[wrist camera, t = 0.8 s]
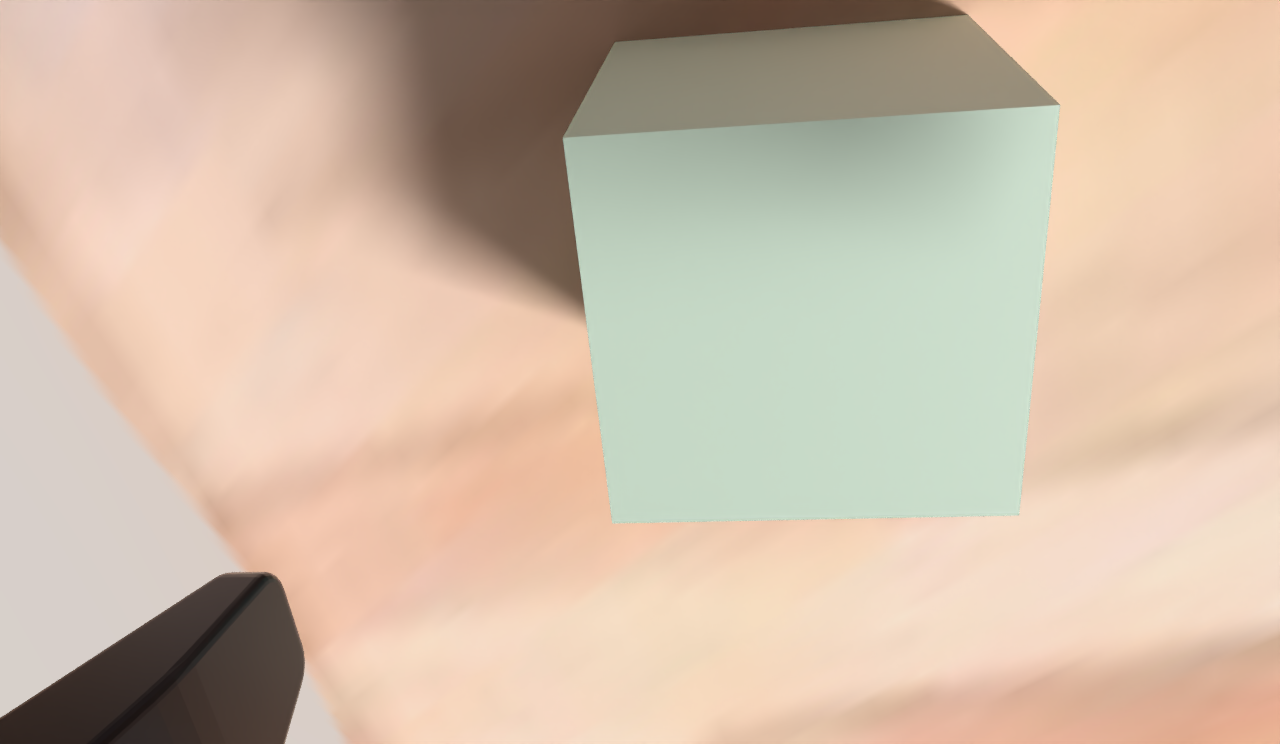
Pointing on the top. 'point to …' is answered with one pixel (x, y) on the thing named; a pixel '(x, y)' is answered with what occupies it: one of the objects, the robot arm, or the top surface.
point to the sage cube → (813, 270)
